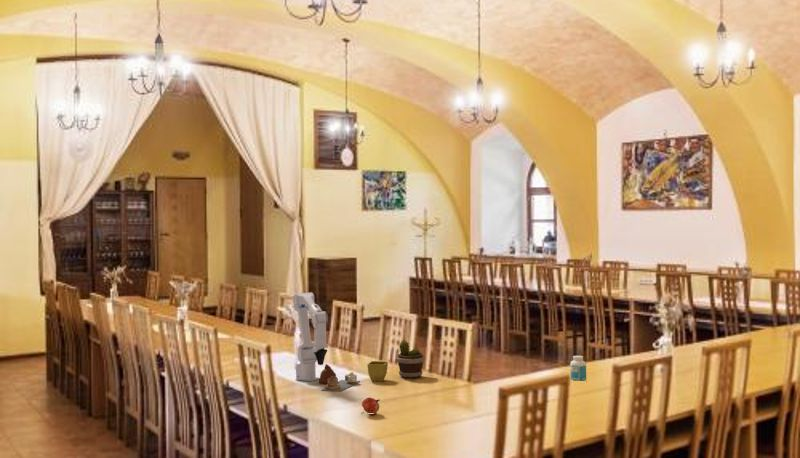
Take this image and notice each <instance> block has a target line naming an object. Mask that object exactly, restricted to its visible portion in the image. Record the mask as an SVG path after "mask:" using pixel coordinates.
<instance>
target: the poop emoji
mask: <svg viewBox="0 0 800 458" xmlns="http://www.w3.org/2000/svg"><path fill="white" fill-rule="evenodd" d="M330 376H334V378H337V382H338V381H339V379H338V377H337V374H336V372H334V369H332V367H331V366H330V365H329V364H327V363H326V364H325V365H324V369H322V371H321V372H320V375H319V378H318V379H317V382H318V384H320V385H328V378H330Z"/></svg>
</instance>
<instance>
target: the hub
mask: <svg viewBox="0 0 800 458" xmlns="http://www.w3.org/2000/svg"><path fill="white" fill-rule="evenodd" d="M349 374H350V376H353V374H354V372H353V371H350V372H349ZM356 381H357V380H354V381H347V383H349V384H353V383H356Z"/></svg>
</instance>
